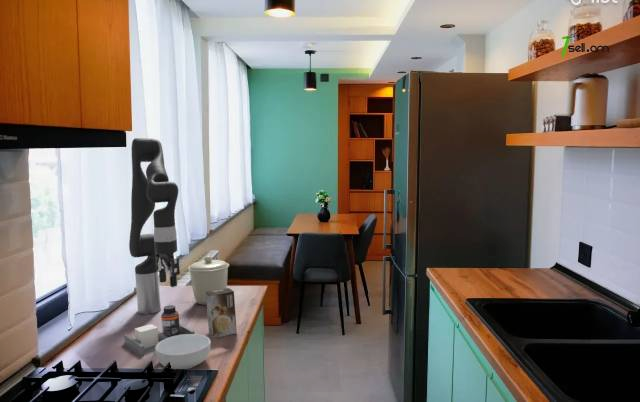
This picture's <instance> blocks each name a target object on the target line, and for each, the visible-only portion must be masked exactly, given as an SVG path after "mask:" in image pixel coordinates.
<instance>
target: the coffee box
mask: <svg viewBox="0 0 640 402" xmlns="http://www.w3.org/2000/svg"><path fill="white" fill-rule="evenodd" d="M235 300H236V299H235V291H234V290H232V289H231V288H229V287H227V288H225V289H219V290H213V291H207V292H206V301H207V305H206V311H207V326H208V327H207V328H208V330H207V331H208V334H209V336H212V337H213V338H216V339H217V338H221V337H226V336H230V335H235V334H237V332H238V330H237V329H238V328H237V320H236V318H237V317H236V315H237V314H236V304H235V303H236V302H235Z"/></svg>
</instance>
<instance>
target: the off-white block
mask: <svg viewBox="0 0 640 402" xmlns="http://www.w3.org/2000/svg"><path fill="white" fill-rule="evenodd" d="M158 331H159V330H158V327H157V326H156V325H154V324H152V323H151V324H146V325H144V326H139V327H135V328H134V339H135V340H136V341H138V342H139V343H141V344H142V345H144V349H145V348H148V347H152V346H155V345H157V344H158V343H159V340H158Z"/></svg>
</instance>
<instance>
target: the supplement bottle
mask: <svg viewBox="0 0 640 402" xmlns="http://www.w3.org/2000/svg"><path fill="white" fill-rule="evenodd" d="M160 316H161V317H160V318H161V328H162V329H161V330H162V331H161V333H162V332H163V334H164V335H166V336H167V337H172V336H177V335H180V326H179V323H180V315H179V312H178V311H177V309H176V306H175V305H173V304H169V305H166V306H164V307H163V312H162V314H161V315H160Z"/></svg>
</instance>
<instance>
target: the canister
mask: <svg viewBox="0 0 640 402" xmlns="http://www.w3.org/2000/svg"><path fill="white" fill-rule="evenodd" d="M203 259H204V260H200V261H196V262H194V263H192V264H190V265H188V267H187V270H188V271H189V274H190V280H191V282H190V283H191V286H192V292H193V297H194V300H195V302H196V303H197V304H198V305H203V306H207V301H206V292H207V291H213V290H219V289H225V288H228V287H227V286H228V271H229V269H228V268H229V267H230V263H228V262H226V261H224V260H221V259H213V257H212V256H211V255H206V256H204V257H203Z"/></svg>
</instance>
